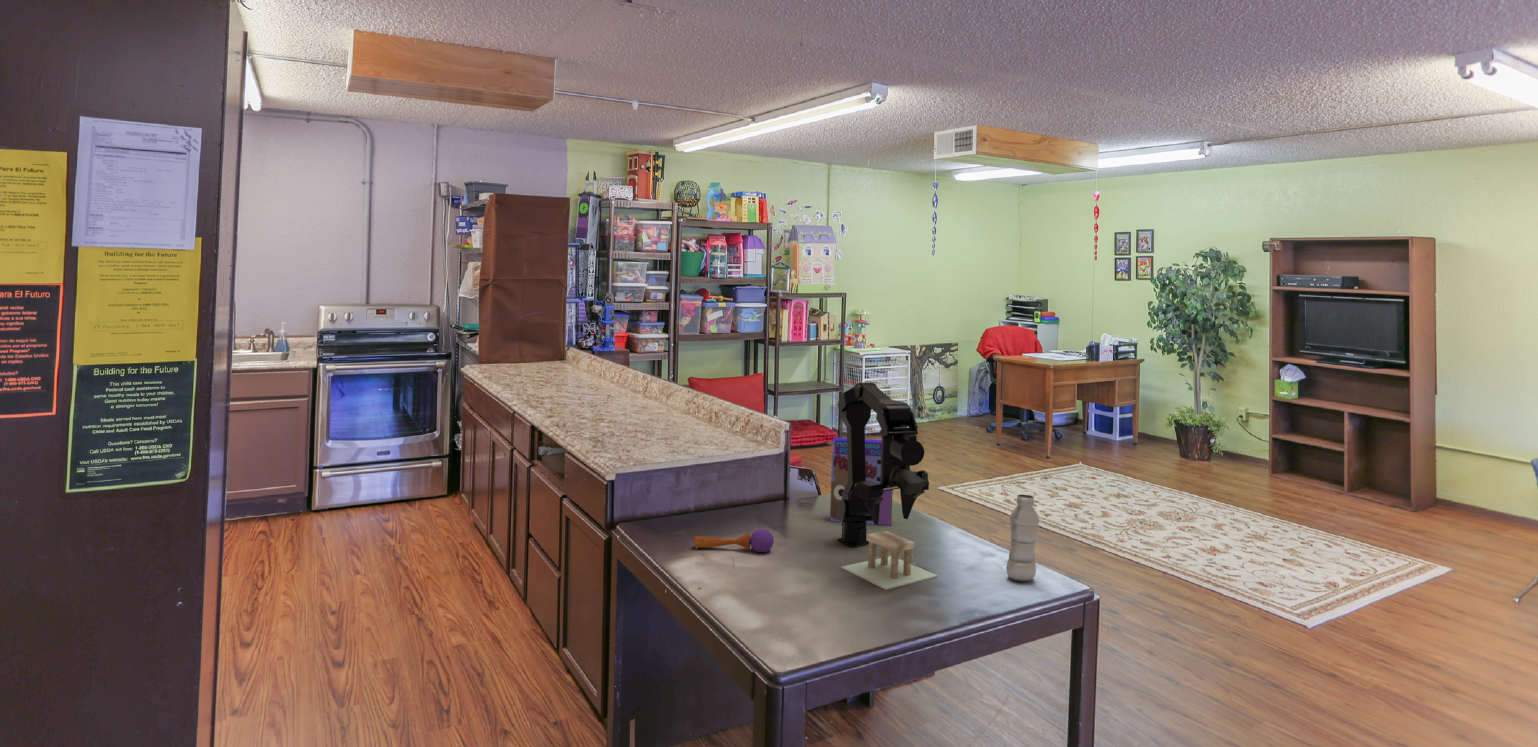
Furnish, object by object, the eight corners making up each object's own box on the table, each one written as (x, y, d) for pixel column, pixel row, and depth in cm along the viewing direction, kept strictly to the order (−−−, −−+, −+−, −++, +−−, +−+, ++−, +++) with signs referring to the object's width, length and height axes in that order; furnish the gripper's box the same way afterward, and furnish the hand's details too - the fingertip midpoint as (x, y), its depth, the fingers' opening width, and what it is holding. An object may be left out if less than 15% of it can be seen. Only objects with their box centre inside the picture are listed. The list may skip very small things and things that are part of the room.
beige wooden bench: (893, 579, 185) (895, 546, 184) (865, 566, 193) (866, 534, 192) (912, 575, 188) (914, 542, 187) (884, 562, 197) (885, 530, 196)
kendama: (697, 529, 209) (774, 527, 207) (698, 552, 208) (775, 550, 207) (693, 532, 203) (771, 529, 201) (694, 556, 203) (772, 553, 201)
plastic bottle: (1001, 574, 191) (1005, 492, 189) (1029, 574, 192) (1033, 492, 189) (1011, 584, 185) (1016, 499, 182) (1040, 584, 185) (1045, 499, 183)
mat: (841, 568, 193) (841, 566, 193) (891, 557, 202) (891, 555, 202) (885, 589, 180) (885, 588, 180) (937, 577, 189) (937, 575, 188)
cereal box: (830, 521, 231) (832, 439, 229) (831, 517, 236) (834, 436, 233) (891, 525, 228) (894, 443, 226) (891, 521, 233) (894, 439, 231)
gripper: (885, 467, 176) (883, 536, 178) (947, 459, 186) (944, 524, 188) (853, 457, 185) (851, 523, 187) (913, 450, 195) (911, 513, 197)
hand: (890, 521), depth 189 cm, fingers open, 9 cm apart
